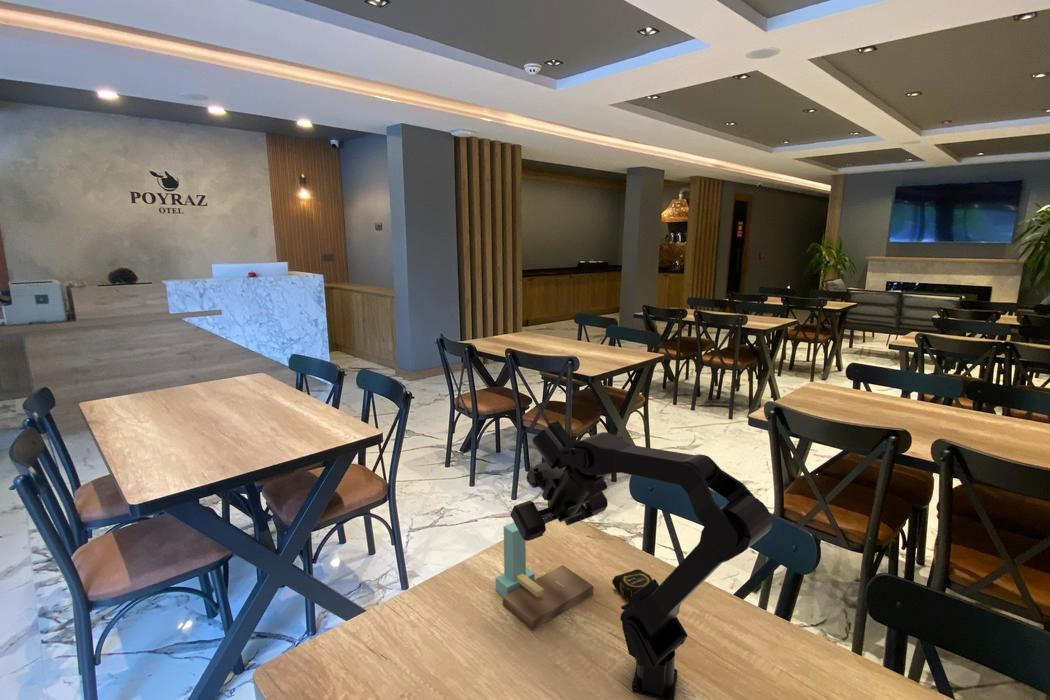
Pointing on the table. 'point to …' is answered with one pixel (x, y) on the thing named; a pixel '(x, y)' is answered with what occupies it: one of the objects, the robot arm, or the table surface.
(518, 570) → the teal block tower
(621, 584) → the tape measure
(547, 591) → the board
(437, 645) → the table surface
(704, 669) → the table surface
